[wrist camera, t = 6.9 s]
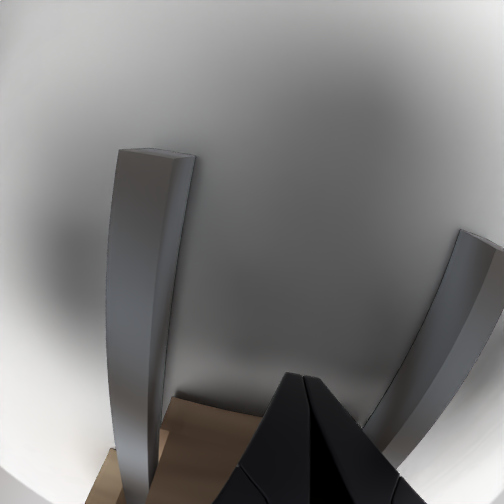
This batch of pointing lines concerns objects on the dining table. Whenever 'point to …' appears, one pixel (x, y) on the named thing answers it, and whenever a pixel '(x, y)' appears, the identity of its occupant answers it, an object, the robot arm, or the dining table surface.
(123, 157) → the tunnel track
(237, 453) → the sled
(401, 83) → the dining table surface
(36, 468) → the dining table surface
